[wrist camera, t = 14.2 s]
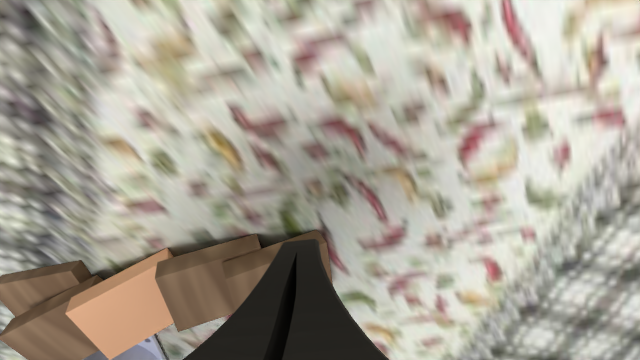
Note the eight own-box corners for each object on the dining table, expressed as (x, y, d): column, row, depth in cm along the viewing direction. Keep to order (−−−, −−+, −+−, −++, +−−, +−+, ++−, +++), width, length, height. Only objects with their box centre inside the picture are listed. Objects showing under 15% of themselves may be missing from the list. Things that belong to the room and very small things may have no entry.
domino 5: (326, 242, 24) (225, 279, 21) (334, 295, 26) (243, 333, 24) (316, 229, 25) (221, 262, 23) (324, 280, 27) (238, 315, 25)
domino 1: (70, 270, 25) (-12, 286, 26) (104, 317, 27) (27, 330, 28) (85, 255, 27) (8, 270, 28) (116, 300, 29) (43, 313, 30)
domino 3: (167, 259, 24) (65, 313, 22) (200, 307, 26) (109, 360, 25) (167, 247, 26) (71, 297, 24) (198, 293, 28) (112, 342, 26)
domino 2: (88, 290, 24) (-3, 337, 24) (133, 332, 27) (51, 376, 26) (97, 274, 26) (12, 319, 26) (138, 315, 28) (61, 356, 28)
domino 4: (260, 247, 24) (154, 278, 22) (273, 299, 26) (178, 331, 24) (256, 233, 25) (157, 261, 24) (269, 284, 27) (179, 313, 26)
